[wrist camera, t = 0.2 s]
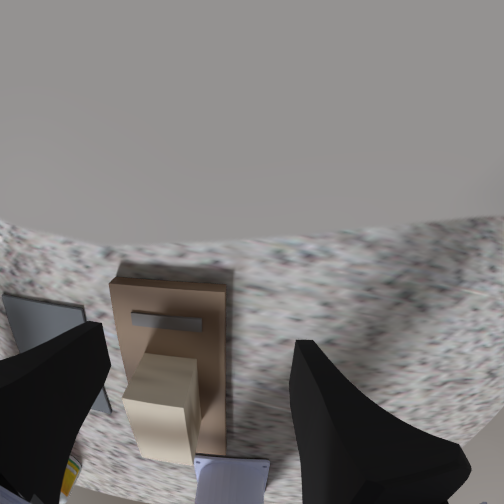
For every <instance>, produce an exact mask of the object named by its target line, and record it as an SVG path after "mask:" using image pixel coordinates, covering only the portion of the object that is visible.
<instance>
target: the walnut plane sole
mask: <svg viewBox="0 0 504 504" xmlns="http://www.w3.org/2000/svg"><path fill="white" fill-rule="evenodd" d="M109 288H110V295H111V302H112V308H113V314H114V320H115V325H116V331H117V336H118V341H119V346H120V350H121V355H122V359H123V364H124V368H125V372H126V376H127V380H128V384H129V382H130V380H131V378H132V376H133V374H134V372H135V370H136V368H137V366H138V364H139V362H140V360H141V358H142V356H143V354H144V353H149V354H156V355H164V356H173V357H182V358H192V359H197V371H198V385H199V397H200V408H201V419H202V421H201V426H200V432H199V437H198V442H197V448H196V453H205V454H215V455H226V447H227V440H226V284H209V283H193V282H178V281H163V280H150V279H137V278H125V277H115V278H114V279H113V280H112V281H111V282H110V283H109Z"/></svg>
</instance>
